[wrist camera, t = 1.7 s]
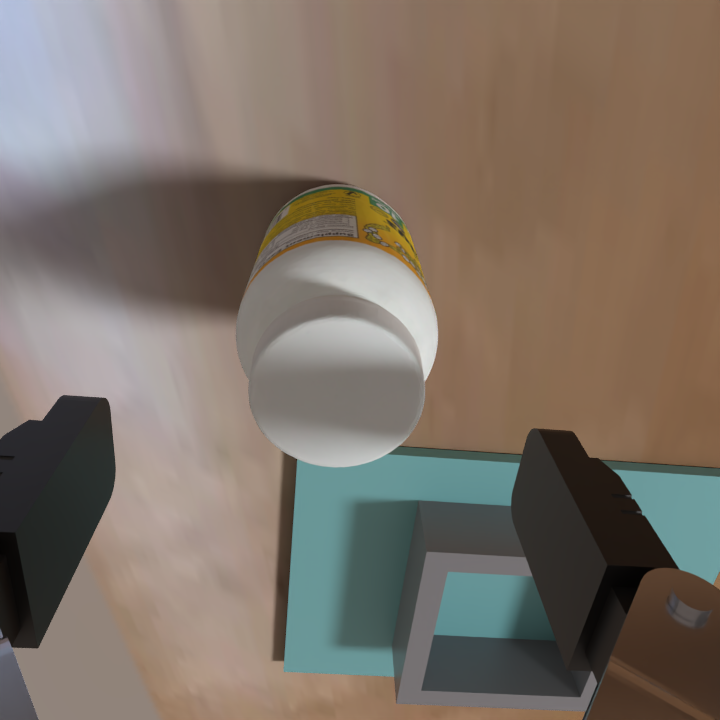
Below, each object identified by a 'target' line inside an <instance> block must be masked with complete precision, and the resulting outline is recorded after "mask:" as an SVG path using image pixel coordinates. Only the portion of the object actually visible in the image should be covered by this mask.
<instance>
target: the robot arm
mask: <svg viewBox="0 0 720 720" xmlns="http://www.w3.org/2000/svg"><path fill="white" fill-rule="evenodd" d="M115 470H116V467H115V455H114V444H113V434H112V423H111V412H110V406H109V402H108V400H107V399H106V398H99V397H84V396H70V395H63V396H61V397H60V398H59V399H58V400H57V402H56V403H55V404H54V406H53V407H52V408H51V410H50V411H49V412H48V414H47V415H46V416H45V418H44V419H43V420H42V421H38V420H28V421H27V422H25V423H23V424H22V425H20V426H18V427H17V428H15V429H13V430H12V431H10V432H9V433H7V434H5V435H4V436H3V437H2V438H1V439H0V720H38V717H37V714H36V712H35V709H34V706H33V703H32V701H31V698H30V695H29V693H28V690H27V687H26V685H25V682H24V679H23V676H22V674H21V671H20V669H19V666H18V663H17V660H16V657H15V655H14V652H13V649H12V647H17V648H38V647H39V645H40V643H41V641H42V639H43V637H44V635H45V633H46V631H47V629H48V627H49V625H50V622H51V620H52V618H53V616H54V614H55V612H56V610H57V608H58V606H59V604H60V602H61V600H62V598H63V595H64V593H65V591H66V589H67V587H68V585H69V583H70V581H71V579H72V577H73V575H74V573H75V571H76V569H77V567H78V565H79V562H80V560H81V558H82V556H83V554H84V552H85V550H86V548H87V546H88V544H89V542H90V540H91V538H92V536H93V533H94V531H95V529H96V527H97V525H98V523H99V521H100V519H101V517H102V515H103V513H104V511H105V509H106V507H107V504H108V502H109V500H110V498H111V495H112V492H113V487H114V482H115ZM511 514H512V520H513V524H514V527H515V529H516V532H517V535H518V538H519V540H520V543H521V546H522V549H523V551H524V554H525V557H526V560H527V562H528V565H529V568H530V571H531V573H532V576H533V579H534V582H535V584H536V587H537V590H538V593H539V595H540V598H541V601H542V604H543V606H544V609H545V612H546V615H547V617H548V620H549V623H550V625H551V628H552V631H553V634H554V636H555V639H556V642H557V645H558V647H559V650H560V653H561V656H562V658H563V661H564V664H565V667H566V669H567V670H572V671H592V672H593V674H594V676H595V679H596V681H597V685H596V688H595V690H594V692H593V695H592V697H591V700H590V702H589V704H588V707H587V709H586V712H585V714H584V717H583V719H582V720H720V590H719V589H718V588H716V587H715V586H714V585H712V584H711V583H709V582H708V581H706V580H704V579H702V578H700V577H699V576H696V575H694V574H692V573H689V572H686V571H683V570H680V569H679V568H678V566H677V565H676V563H675V561H674V560H673V558H672V557H671V555H670V554H669V552H668V551H667V549H666V547H665V546H664V544H663V543H662V541H661V540H660V538H659V537H658V535H657V533H656V532H655V530H654V529H653V527H652V526H651V524H650V523H649V521H648V519H647V518H646V516H645V515H642V510H641V509H640V507H639V505H638V504H637V502H636V501H635V499H632V495H631V493H630V491H629V490H628V488H627V487H626V485H625V484H624V482H623V481H622V479H621V477H620V476H619V475H618V474H617V473H615V472H614V471H613V470H612V469H611V468H609V467H608V466H607V465H606V464H605V463H603V462H602V461H601V460H600V459H598V458H589V457H588V455H587V453H586V452H585V450H584V448H583V447H582V445H581V443H580V442H579V440H578V438H577V437H576V435H575V434H574V433H573V432H572V431H564V430H550V429H532V430H531V431H530V432H529V434H528V436H527V439H526V443H525V447H524V450H523V454H522V458H521V461H520V465H519V469H518V472H517V476H516V480H515V483H514V487H513V491H512V497H511Z"/></svg>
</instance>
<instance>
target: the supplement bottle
mask: <svg viewBox="0 0 720 720" xmlns="http://www.w3.org/2000/svg"><path fill="white" fill-rule="evenodd" d="M437 343H438V327H437V316H436V312H435V309H434V306H433V303H432V300H431V297H430V294H429V291H428V288H427V285H426V282H425V279H424V276H423V273H422V270H421V265H420V263H419V260H418V257H417V254H416V251H415V248H414V245H413V242H412V239H411V236H410V234H409V231H408V229H407V227H406V225H405V223H404V222H403V220H402V219H401V217H400V216H399V215H398V214H397V213H396V212H395V211H394V210H393V209H392V208H391V207H390V206H389V205H388V204H387V203H385V202H384V201H383V200H381V199H380V198H379V197H377V196H376V195H374V194H372V193H371V192H369V191H367V190H364V189H362V188H359V187H356V186H351V185H344V184H331V185H324V186H319V187H316V188H313V189H309V190H307V191H305V192H303V193H301V194H299V195H297V196H296V197H294V198H293V199H291V200H290V201H289V202H288V203H286V204H285V205H284V206H283V207H282V208H281V209H280V210H279V212H278V213H277V214H276V216H275V217H274V218H273V220H272V222H271V223H270V225H269V227H268V230H267V232H266V234H265V237H264V239H263V242H262V244H261V246H260V250H259V253H258V256H257V259H256V261H255V264H254V267H253V270H252V273H251V275H250V278H249V281H248V284H247V286H246V289H245V292H244V295H243V298H242V301H241V304H240V308H239V312H238V316H237V323H236V345H237V351H238V356H239V359H240V362H241V365H242V368H243V370H244V372H245V374H246V376H247V378H248V379H249V392H248V393H249V403H250V408H251V411H252V414H253V416H254V418H255V421H256V423H257V424H258V426H259V428H260V430H261V431H262V432H263V434H264V435H265V436H266V437H267V438H268V439H269V441H270V442H272V443H273V444H274V445H275V446H276V447H277V448H279V449H280V450H282V451H283V452H284V453H286V454H288V455H290V456H292V457H294V458H296V459H298V460H301V461H303V462H306V463H309V464H313V465H318V466H324V467H350V466H357V465H361V464H365V463H368V462H371V461H374V460H376V459H379V458H381V457H383V456H384V455H386V454H388V453H389V452H391V451H393V450H394V449H396V448H397V447H398V446H399V445H401V444H402V443H403V442H404V441H405V440H406V439H407V437H408V436H409V435H410V434H411V433H412V431H413V430H414V428H415V426H416V424H417V422H418V420H419V418H420V416H421V413H422V410H423V405H424V400H425V381H426V379H427V377H428V375H429V373H430V371H431V368H432V366H433V363H434V360H435V356H436V351H437Z"/></svg>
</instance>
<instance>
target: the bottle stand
mask: <svg viewBox="0 0 720 720" xmlns="http://www.w3.org/2000/svg"><path fill="white" fill-rule="evenodd" d="M521 458H522V455H514V454H499V453H485V452H470V451H456V450H441V449H426V448H412V447H397V448H396V449H394V450H393V451H391V452H389V453H388V454H386V455H384V456H383V457H381V458H379V459H376V460H374V461H371V462H368V463H365V464H361V465H357V466H350V467H324V466H318V465H313V464H309V463H306V462H303V461H301V460H298V459H297V472H296V487H295V503H294V518H293V534H292V549H291V565H290V580H289V596H288V611H287V626H286V642H285V657H284V672H302V673H325V674H347V675H370V676H392V677H394V680H395V693H396V704H417V705H441V706H466V707H490V708H514V709H538V710H562V711H586V709H587V707H588V704H589V702H590V700H591V697H592V695H593V692H594V690H595V688H596V685H597V681H596V679H595V676H594V674H593V672H592V671H572V670H567V669H566V667H565V664H564V661H563V658H562V656H561V653H560V650H559V647H558V645H557V642H556V639H555V636H554V634H553V631H552V628H551V625H550V623H549V620H548V617H547V615H546V612H545V609H544V606H543V604H542V601H541V598H540V595H539V593H538V590H537V587H536V584H535V582H534V579H533V576H532V573H531V571H530V568H529V565H528V562H527V560H526V557H525V554H524V551H523V549H522V546H521V543H520V540H519V538H518V535H517V532H516V529H515V527H514V524H513V520H512V514H511V497H512V491H513V487H514V483H515V480H516V476H517V472H518V469H519V465H520V461H521ZM602 462H603V463H605V464H606V465H607V466H608V467H609V468H611V469H612V470H613V471H614V472H615V473H617V474H618V475H619V476H620V477H621V479H622V481H623V482H624V484H625V485H626V487H627V488H628V490H629V491H630V493H631V495H632V499H635V501H636V502H637V504H638V505H639V507H640V509H641V510H642V515H645V516H646V518H647V519H648V521H649V523H650V524H651V526H652V527H653V529H654V530H655V532H656V533H657V535H658V537H659V538H660V540H661V541H662V543H663V544H664V546H665V547H666V549H667V551H668V552H669V554H670V555H671V557H672V558H673V560H674V561H675V563H676V565H677V566H678V568H679V569H680V570H683V571H686V572H689V573H692V574H694V575H696V576H699V577H700V578H702V579H704V580H706V581H708V582H709V583H711V584H712V585H713V583H714V581H715V579H716V577H717V575H718V573H719V571H720V469H718V468H704V467H689V466H674V465H660V464H645V463H631V462H616V461H602Z"/></svg>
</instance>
